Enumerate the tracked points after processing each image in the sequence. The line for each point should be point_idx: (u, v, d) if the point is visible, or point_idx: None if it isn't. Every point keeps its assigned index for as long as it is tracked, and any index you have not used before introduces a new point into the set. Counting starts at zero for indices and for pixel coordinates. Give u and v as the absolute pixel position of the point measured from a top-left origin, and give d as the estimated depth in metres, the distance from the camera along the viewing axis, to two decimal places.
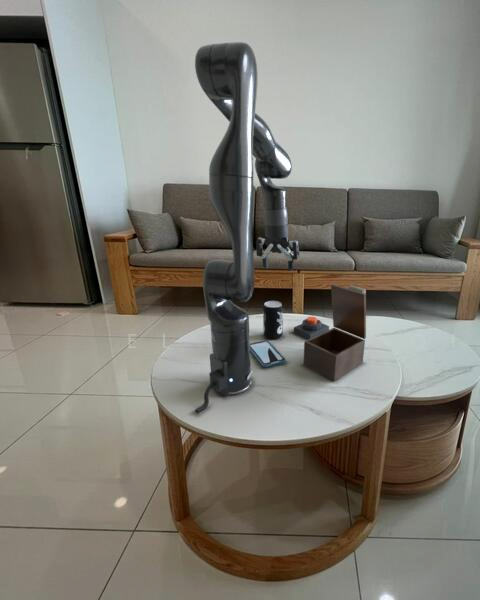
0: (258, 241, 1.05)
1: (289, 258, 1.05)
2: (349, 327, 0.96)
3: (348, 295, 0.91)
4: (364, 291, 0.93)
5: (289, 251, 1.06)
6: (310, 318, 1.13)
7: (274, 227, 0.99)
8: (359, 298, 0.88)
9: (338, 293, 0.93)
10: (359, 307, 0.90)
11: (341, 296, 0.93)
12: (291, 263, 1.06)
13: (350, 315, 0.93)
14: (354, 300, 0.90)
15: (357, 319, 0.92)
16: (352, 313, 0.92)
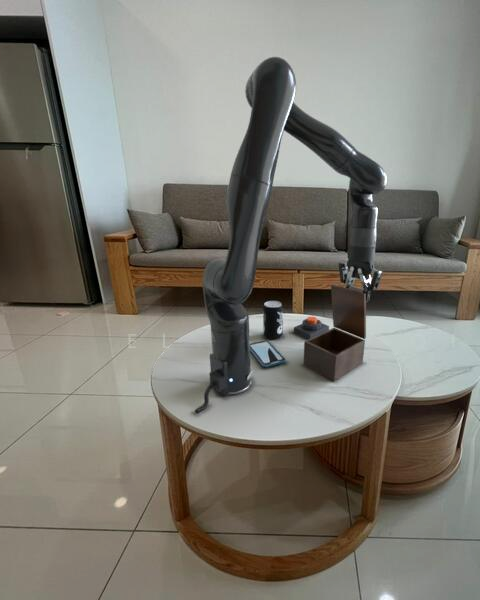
0: (340, 265, 0.95)
1: (365, 288, 0.91)
2: (349, 327, 0.96)
3: (348, 295, 0.91)
4: None
5: (369, 281, 0.92)
6: (310, 318, 1.13)
7: (356, 248, 0.87)
8: (359, 298, 0.88)
9: (338, 293, 0.93)
10: (359, 307, 0.90)
11: (341, 296, 0.93)
12: (366, 294, 0.92)
13: (350, 315, 0.93)
14: (354, 300, 0.90)
15: (357, 319, 0.92)
16: (352, 313, 0.92)
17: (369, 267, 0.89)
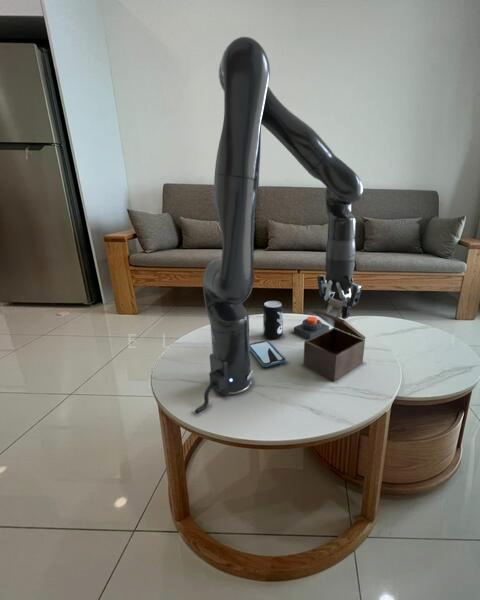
0: (319, 278, 0.89)
1: (344, 303, 0.85)
2: (346, 331, 0.95)
3: (330, 319, 0.87)
4: None
5: (348, 295, 0.86)
6: (310, 318, 1.13)
7: (333, 261, 0.81)
8: (340, 323, 0.85)
9: (320, 315, 0.90)
10: (345, 326, 0.87)
11: (324, 317, 0.90)
12: (346, 310, 0.86)
13: (341, 327, 0.92)
14: (337, 322, 0.87)
15: (349, 330, 0.90)
16: (342, 327, 0.90)
17: (348, 281, 0.83)
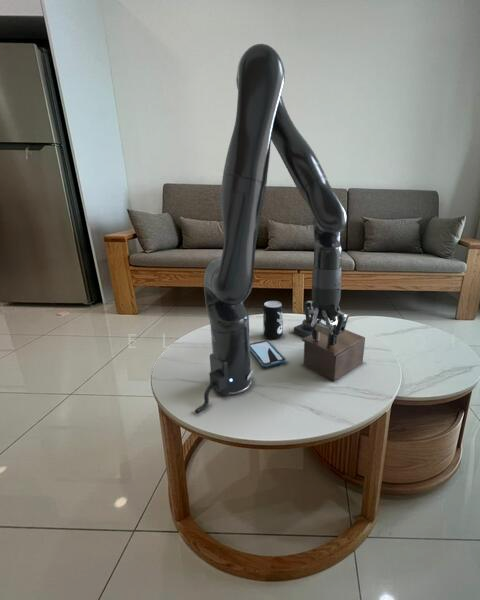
0: (306, 305, 0.88)
1: (330, 331, 0.84)
2: None
3: None
4: None
5: (335, 323, 0.85)
6: None
7: (319, 290, 0.80)
8: None
9: None
10: None
11: None
12: (332, 338, 0.85)
13: None
14: None
15: None
16: None
17: (334, 310, 0.82)
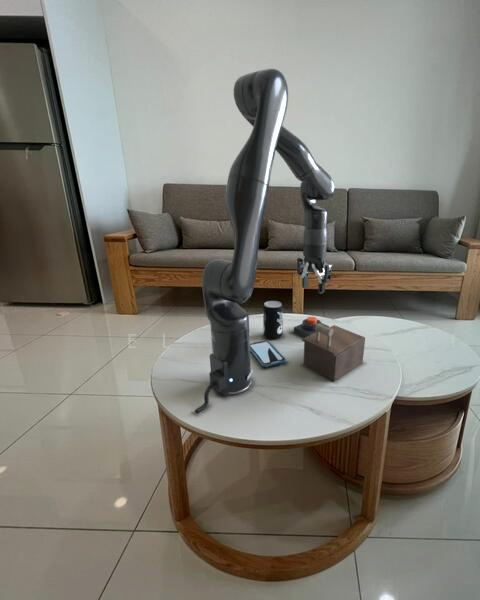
0: (298, 260, 1.09)
1: (319, 280, 1.05)
2: None
3: None
4: (330, 332, 0.85)
5: (323, 274, 1.05)
6: (310, 318, 1.13)
7: (308, 246, 1.01)
8: None
9: None
10: None
11: None
12: (321, 286, 1.05)
13: None
14: None
15: None
16: None
17: (321, 262, 1.03)
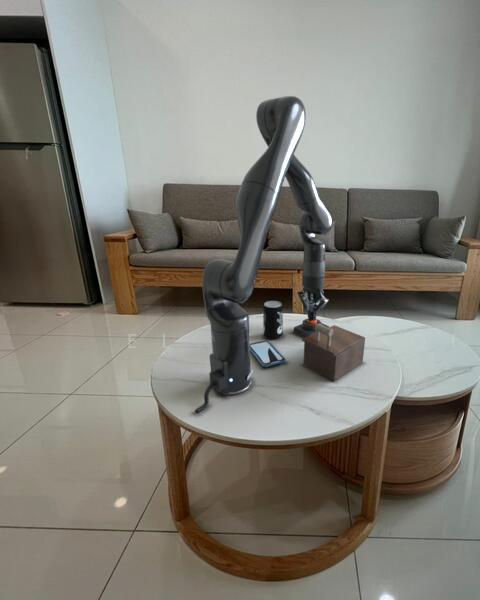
0: (299, 293, 1.13)
1: (311, 309, 1.10)
2: None
3: None
4: (330, 332, 0.85)
5: (317, 303, 1.11)
6: None
7: (307, 277, 1.05)
8: None
9: None
10: None
11: None
12: (313, 314, 1.11)
13: None
14: None
15: None
16: None
17: (319, 293, 1.07)
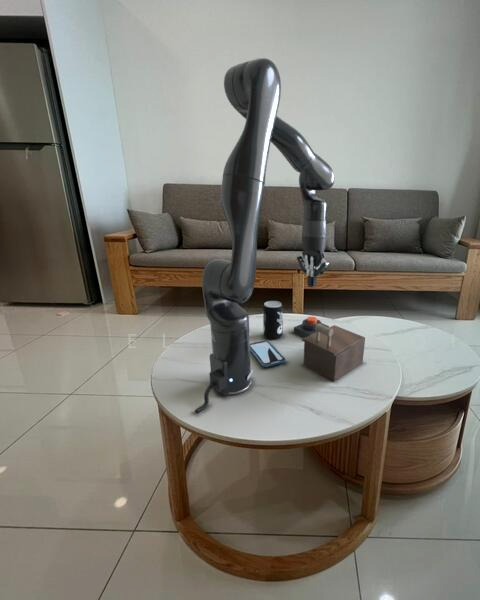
0: (298, 258, 1.06)
1: (311, 274, 1.04)
2: None
3: None
4: (330, 332, 0.85)
5: (317, 268, 1.04)
6: (310, 318, 1.13)
7: (307, 238, 0.98)
8: None
9: None
10: None
11: None
12: (313, 279, 1.05)
13: None
14: None
15: None
16: None
17: (320, 255, 1.00)
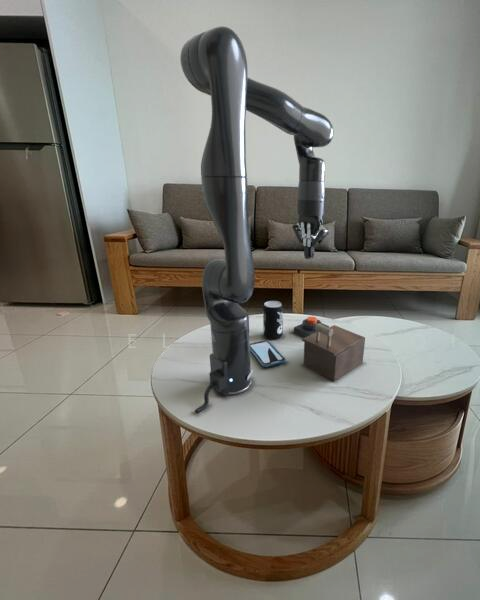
0: (294, 227, 0.96)
1: (308, 243, 0.93)
2: None
3: None
4: (330, 332, 0.85)
5: (315, 237, 0.93)
6: (310, 318, 1.13)
7: (303, 201, 0.88)
8: None
9: None
10: None
11: None
12: (310, 250, 0.94)
13: None
14: None
15: None
16: None
17: (317, 221, 0.89)
